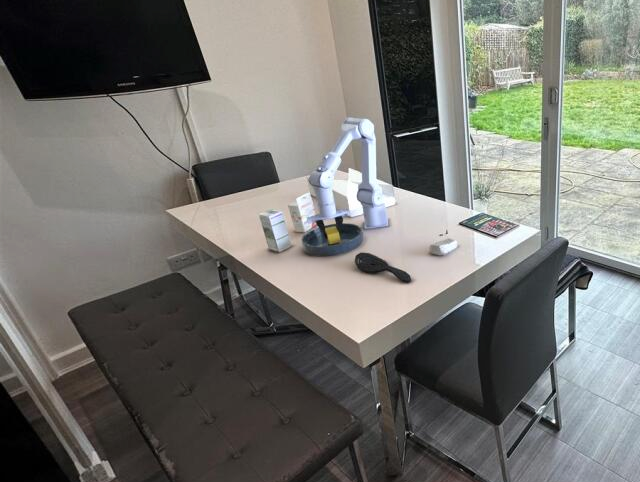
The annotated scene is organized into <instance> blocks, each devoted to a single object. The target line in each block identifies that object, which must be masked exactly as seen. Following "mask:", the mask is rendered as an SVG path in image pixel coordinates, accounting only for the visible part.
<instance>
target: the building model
mask: <svg viewBox="0 0 640 482" xmlns="http://www.w3.org/2000/svg"><path fill="white" fill-rule="evenodd" d="M347 175H348V177H347V178H346V179H335V178H334V182H333V184H332V185H331V188H332V193H333V198H334V203H335V208H336V211H339V210H349V213H350V216H348V217H349V218H354V217H358V216H361V215H364V214H363V208H362V205H361V202H359V201H358V200H357V197H356V194H357V191H358V185H359V184H360V183H361V182H362V171H361V172H360V171H358V170H356V169H353V168H350V167H348V174H347ZM309 177H310V176H306V181H307V185H308V189H309V193H310V196H312V197H315V198H316V195H315V191H314V189H313V186H312V185H311V184H310V183H309V181H308V180H309ZM376 182H377V183H378V184H379V185H380V186H381V188H382V193H383V197H384V198H383V202H382V203H385V206H386V208H388V207H392V206H394V205H396V199H395V197H396V196H395V191H394V185H392V184H390V183H388V182H385V181H383V180H381V179H378V178H376Z"/></svg>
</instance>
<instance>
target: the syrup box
mask: <svg viewBox="0 0 640 482" xmlns="http://www.w3.org/2000/svg"><path fill="white" fill-rule="evenodd" d="M258 217H259V220H260V224H261V227H262V229H263V230H262V231H263V233H264V238H265V241H266V243H267V247H268V250H269V251H273V252H277V253H281V252H284V251H285V250H287V249H290V248H291V247H292V242H291V238H290V234H289V230H288V227H287V223H286V218H285V216H284V211H282V210H278V209H269V210H265V211H263V212H261V213H259V214H258Z"/></svg>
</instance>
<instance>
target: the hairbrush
mask: <svg viewBox="0 0 640 482" xmlns="http://www.w3.org/2000/svg"><path fill="white" fill-rule="evenodd" d="M354 263H355V265H356V266H357V269H359V270H360V271H362V272H363V273H365V274H377V273H378V274H379V273H382V272H389V273H391V274H393V275H394V276H395V277H396V279H398V280H400V281H402V282H404V283H411V282H412V277H411V275H410V274H409V273H408V272H406V271H405V270H402V269H401V268H397V267H395V266H392V265H389V263H388V262H387V261H386V260H384V259H383V258H382V257H380V256H378V255H375V254H373V253H370V252H366V251H364V252H358V253H356V254H355V256H354Z"/></svg>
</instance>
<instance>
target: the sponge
mask: <svg viewBox="0 0 640 482" xmlns="http://www.w3.org/2000/svg"><path fill="white" fill-rule="evenodd" d="M325 230H326V234H327V240H328V243H329V245H330V244H334V243H339V242H341V241H340V236H339V232H338V230H337V228H336V226H334V227H329V228H325Z"/></svg>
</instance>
